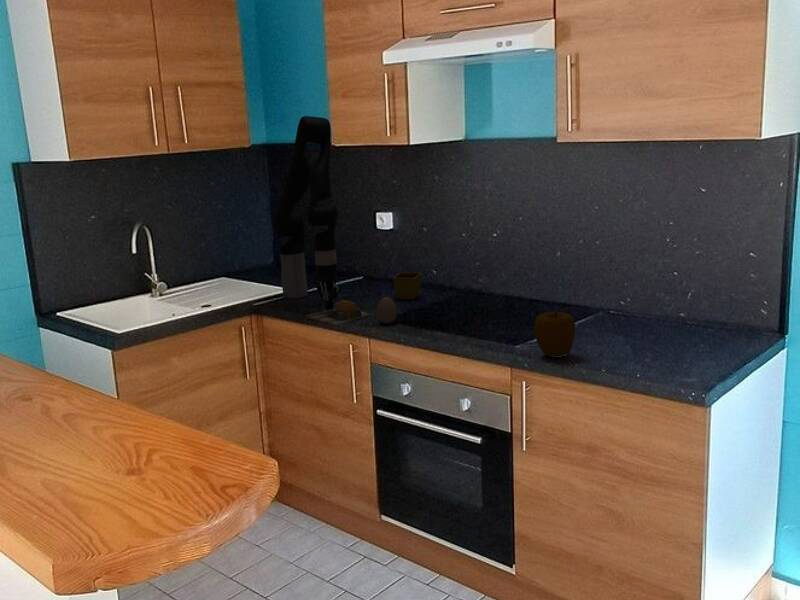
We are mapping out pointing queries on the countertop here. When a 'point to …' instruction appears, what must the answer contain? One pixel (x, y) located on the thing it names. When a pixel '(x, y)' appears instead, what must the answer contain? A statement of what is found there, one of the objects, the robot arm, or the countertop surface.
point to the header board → (338, 316)
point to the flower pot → (407, 285)
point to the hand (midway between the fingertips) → (329, 310)
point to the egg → (386, 310)
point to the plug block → (345, 307)
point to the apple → (555, 333)
